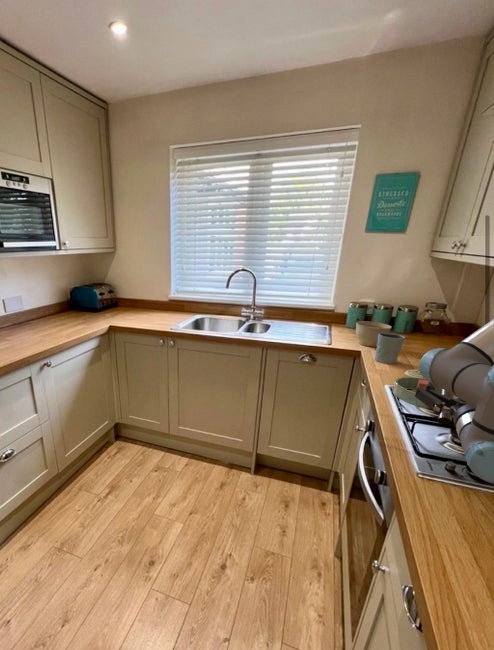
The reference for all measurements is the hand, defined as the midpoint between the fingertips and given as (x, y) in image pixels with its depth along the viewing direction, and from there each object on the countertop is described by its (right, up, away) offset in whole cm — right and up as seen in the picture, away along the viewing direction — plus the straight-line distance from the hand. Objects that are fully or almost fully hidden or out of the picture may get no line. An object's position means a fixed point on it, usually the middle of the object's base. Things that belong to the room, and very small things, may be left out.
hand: (462, 390), depth 83 cm
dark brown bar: (+5, -10, +12) cm, 17 cm away
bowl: (+12, -5, +30) cm, 32 cm away
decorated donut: (+21, 0, +44) cm, 49 cm away
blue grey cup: (+22, +9, +68) cm, 72 cm away
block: (+14, -4, +32) cm, 35 cm away
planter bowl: (+29, +18, +92) cm, 98 cm away
